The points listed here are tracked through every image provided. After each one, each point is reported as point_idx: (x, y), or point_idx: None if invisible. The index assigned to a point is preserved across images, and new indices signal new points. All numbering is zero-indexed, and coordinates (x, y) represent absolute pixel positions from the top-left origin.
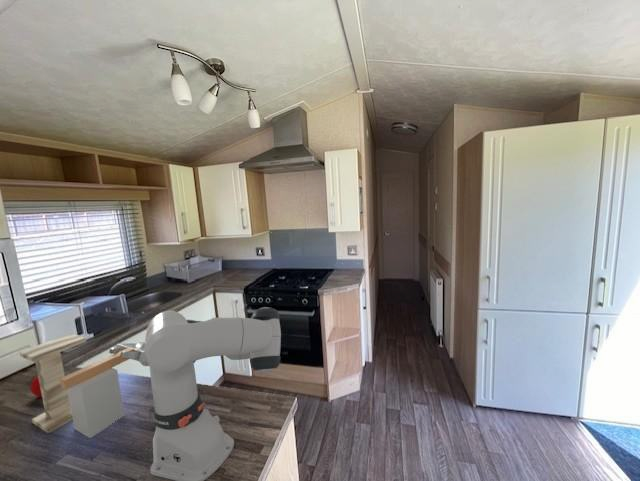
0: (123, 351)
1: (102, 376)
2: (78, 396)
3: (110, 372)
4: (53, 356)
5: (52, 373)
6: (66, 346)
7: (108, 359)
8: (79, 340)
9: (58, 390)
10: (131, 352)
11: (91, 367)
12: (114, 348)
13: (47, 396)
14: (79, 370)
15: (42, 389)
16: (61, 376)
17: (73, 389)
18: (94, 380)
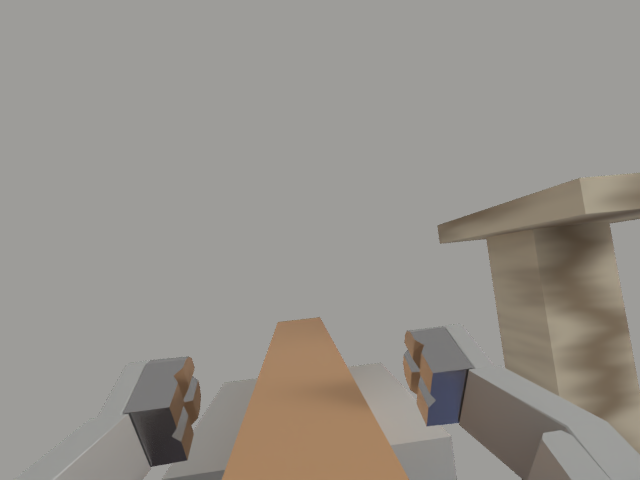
0: (161, 360)
1: (207, 422)
2: None
3: (192, 449)
4: (515, 257)
5: (518, 340)
6: (501, 214)
7: (278, 368)
8: (546, 191)
9: None
10: (55, 450)
11: (280, 341)
12: (419, 340)
13: None
14: (315, 329)
15: None
16: (546, 386)
17: None
18: (217, 404)
